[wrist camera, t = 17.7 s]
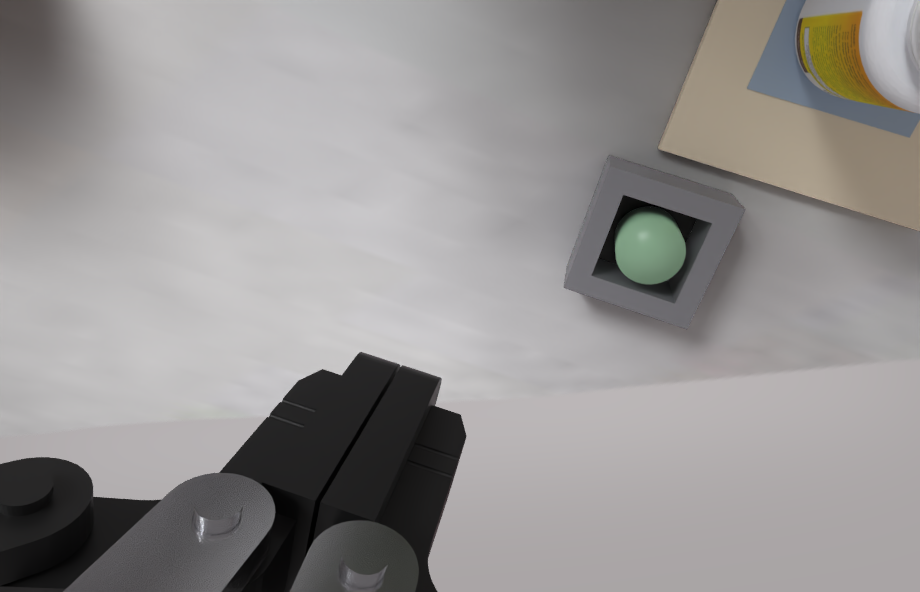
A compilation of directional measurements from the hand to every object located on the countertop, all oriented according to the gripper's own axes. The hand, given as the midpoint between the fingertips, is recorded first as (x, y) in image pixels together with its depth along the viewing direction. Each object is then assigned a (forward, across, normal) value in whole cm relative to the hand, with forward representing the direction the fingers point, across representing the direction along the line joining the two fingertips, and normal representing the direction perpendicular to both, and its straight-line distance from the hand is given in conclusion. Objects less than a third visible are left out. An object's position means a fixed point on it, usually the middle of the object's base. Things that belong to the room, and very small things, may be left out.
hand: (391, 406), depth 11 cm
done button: (+21, -7, +1) cm, 22 cm away
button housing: (+22, -7, +2) cm, 23 cm away
